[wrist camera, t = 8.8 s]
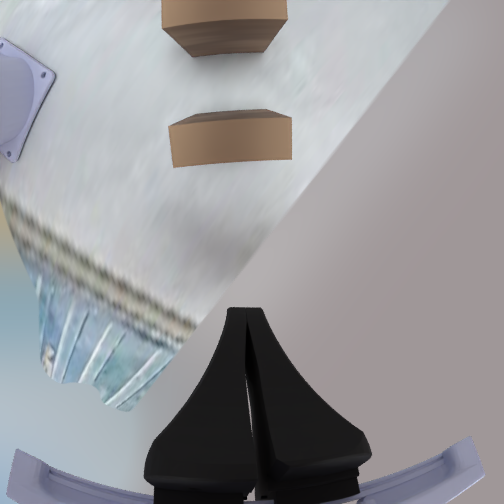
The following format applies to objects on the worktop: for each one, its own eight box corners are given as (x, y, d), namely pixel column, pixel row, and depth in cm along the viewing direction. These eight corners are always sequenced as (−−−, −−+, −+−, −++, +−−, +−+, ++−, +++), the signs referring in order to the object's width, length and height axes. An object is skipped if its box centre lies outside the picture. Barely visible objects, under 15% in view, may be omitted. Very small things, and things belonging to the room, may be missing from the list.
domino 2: (198, 137, 17) (173, 167, 10) (196, 113, 16) (168, 126, 9) (266, 132, 17) (292, 159, 10) (266, 109, 16) (291, 117, 9)
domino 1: (192, 57, 14) (161, 28, 7) (191, 35, 13) (161, -7, 6) (263, 52, 14) (287, 19, 7) (262, 30, 13) (285, -15, 6)
